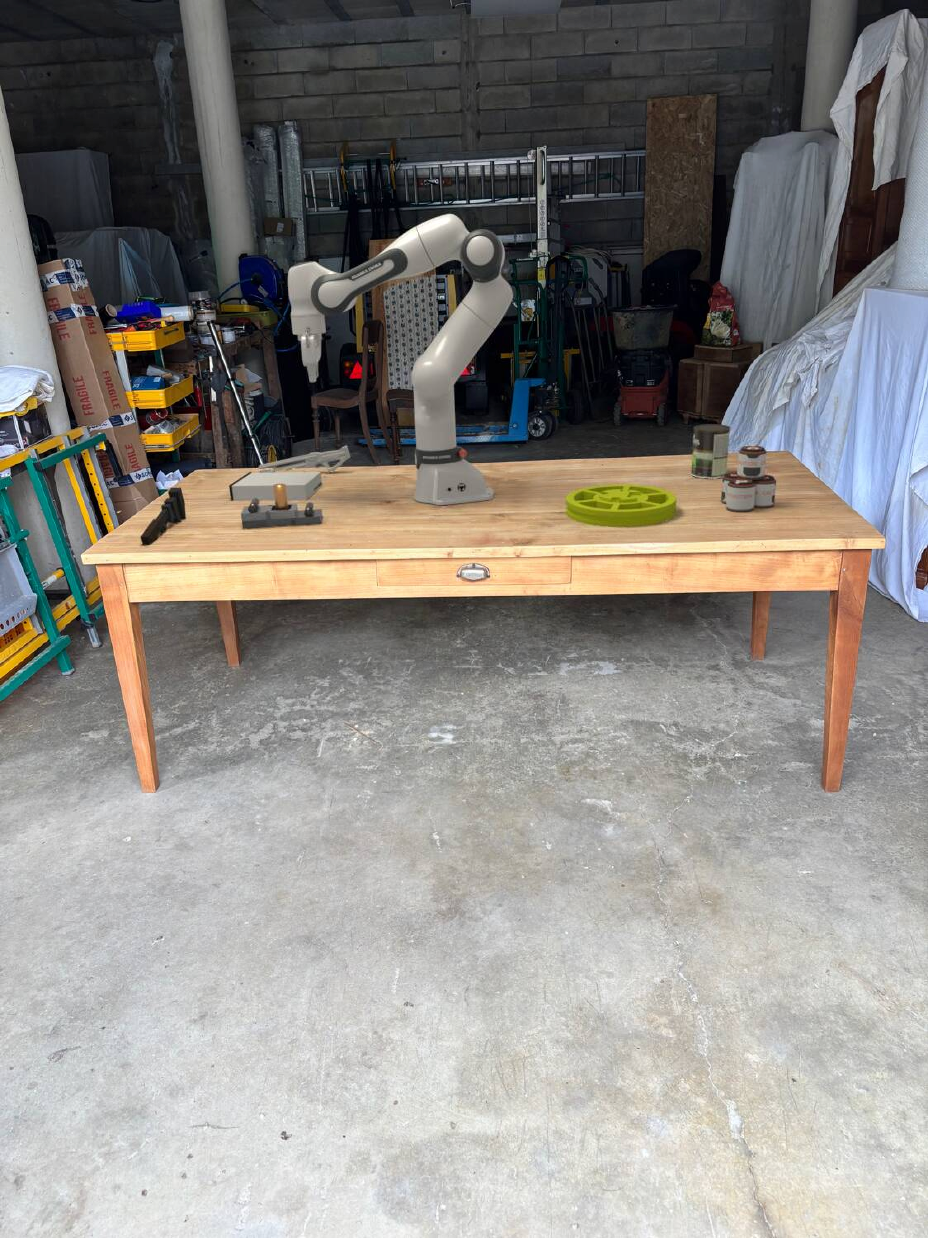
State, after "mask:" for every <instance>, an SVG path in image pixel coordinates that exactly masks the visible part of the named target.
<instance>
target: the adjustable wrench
mask: <svg viewBox="0 0 928 1238" xmlns="http://www.w3.org/2000/svg"><path fill="white" fill-rule="evenodd" d="M167 493H168V497H167V498H165V499H164V503H163V504H161V506H160V508H161V509H160V510H161V511H160V512H159V513H158V515H157V516H156V517H155V518H153V519H152V520H151V521H150V523H149V524H148V526H147V527H146V529H145V530H144V531H143V532H142V534H141V535H140V540H141V543H142V546H150V545H152V544H153V543H154V541H155V540H156V539H157V538H158V536H159V534H160V533H164V532H165V531H166V530H167V528H168V524H169V523H171V524H172V523H173V524H174V523H175V524H176V522H180V523H182V520H187V517H186V515H187V514H186V505H185V498H184V495H183V494H184V493H183V490H182V487H170V489H169V490H168V491H167Z"/></svg>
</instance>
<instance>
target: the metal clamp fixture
mask: <svg viewBox="0 0 928 1238" xmlns="http://www.w3.org/2000/svg"><path fill="white" fill-rule="evenodd" d="M250 501H251V502H250V504H249V505H248V506H244V507H243V509H242V511H241V513H240V517H241V518H240V519H241V526H242V530H244V528H249V529H262V528H263V527H264V528H275V526H279V527H288V526H287V525H295V526H308V525H321V524H322V521H323V509H322V508H317V509H316V508H315V505H314V503H313V502H311V501H310V502H309V501H308V502H307V503H306V505H305V509H299V508H298V503H297V502H295V503H294V502H293V503H288V510H276V507H275V504H264V505H260V500H258V499H257V498H254V499H253V500H250ZM314 508H315V509H314ZM298 509H299V510H298ZM273 526H274V527H273ZM261 527H262V528H261Z"/></svg>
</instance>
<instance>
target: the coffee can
mask: <svg viewBox="0 0 928 1238" xmlns="http://www.w3.org/2000/svg"><path fill="white" fill-rule="evenodd" d="M730 431H731V426H728V425H726V424H716V423H714V424H713V423H706V424H699V425H698V424H697V425H695V426H693V436H692V455H691V456H692V457H691V470H690V471H691V473H690V475H691V474H692V475H693V476H695V477H699V478H698V479H700V478H710V479H709V480H714V479H713V478H720V479H722V478H723V477H724V475H725V474H726V473H728V472H727V471H728V457H729V446H730V445H729V443H730ZM693 476H692V477H693ZM695 477H694V478H695ZM711 478H712V479H711Z"/></svg>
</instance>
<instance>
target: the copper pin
mask: <svg viewBox="0 0 928 1238" xmlns="http://www.w3.org/2000/svg"><path fill="white" fill-rule="evenodd" d="M273 490H274V499H275V500H274V505H275V507H276V510H288V504H289V503H288V500H287V493H286V485H285V484H274V485H273Z"/></svg>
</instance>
